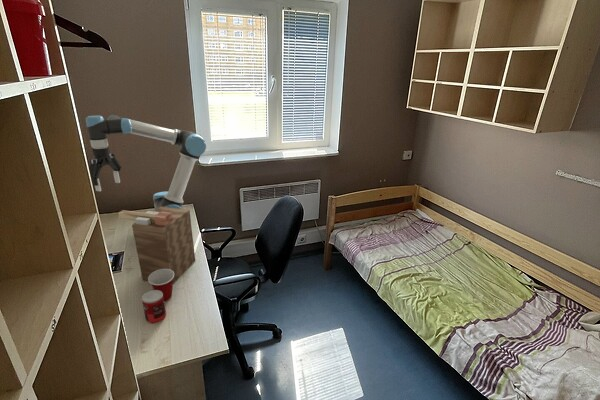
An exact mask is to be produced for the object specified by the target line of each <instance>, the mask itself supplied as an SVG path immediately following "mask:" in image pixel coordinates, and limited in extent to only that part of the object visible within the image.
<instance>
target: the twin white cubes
mask: <svg viewBox="0 0 600 400" xmlns="http://www.w3.org/2000/svg"><path fill="white" fill-rule="evenodd" d="M153 211H154V210H153ZM153 211H151V210H147V211H145V213H151V214H159V212H153ZM134 221H135V222H134V223H136V224H139V225H147V226H148V225H149V224H151V221H150V218H143V217H137V218H136V219H135V220H134Z"/></svg>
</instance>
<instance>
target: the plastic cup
mask: <svg viewBox="0 0 600 400" xmlns="http://www.w3.org/2000/svg"><path fill="white" fill-rule="evenodd" d="M173 278H174V272H173V271H172V270H170V269H160V270H156V271H154V272H152V273H151V274H150V275H149V277H148V281H147V282H148V283H149V284H150V285H151V287H152V290H159V291H161V292H162V293H163V298H164V303H165V302H167V301H170V300H171V299H172V295H173V285H174V284H173Z"/></svg>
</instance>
